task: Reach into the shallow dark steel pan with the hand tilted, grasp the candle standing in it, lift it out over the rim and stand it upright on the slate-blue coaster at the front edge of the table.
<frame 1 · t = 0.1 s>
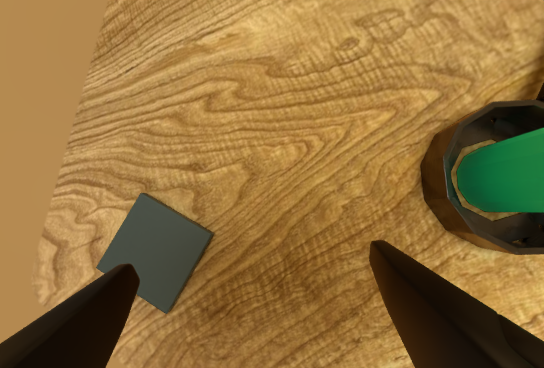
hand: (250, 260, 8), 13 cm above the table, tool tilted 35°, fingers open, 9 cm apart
candle: (489, 179, 20), resting in pan
coaster: (158, 249, 21), on the table
pan: (491, 179, 20), on the table
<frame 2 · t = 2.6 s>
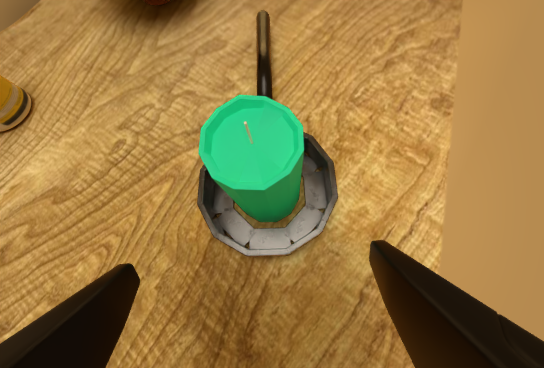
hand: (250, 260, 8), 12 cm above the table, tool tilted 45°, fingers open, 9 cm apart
candle: (269, 193, 22), resting in pan
pill bottle: (12, 113, 29), on the table
pan: (268, 192, 22), on the table
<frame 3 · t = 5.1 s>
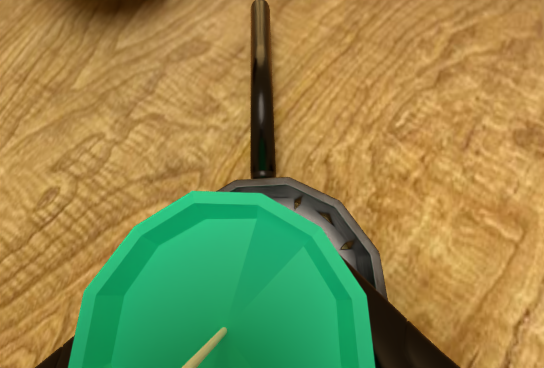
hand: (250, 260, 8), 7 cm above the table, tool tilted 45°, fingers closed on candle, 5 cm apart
candle: (269, 283, 14), resting in pan, touching gripper
pan: (269, 283, 14), on the table
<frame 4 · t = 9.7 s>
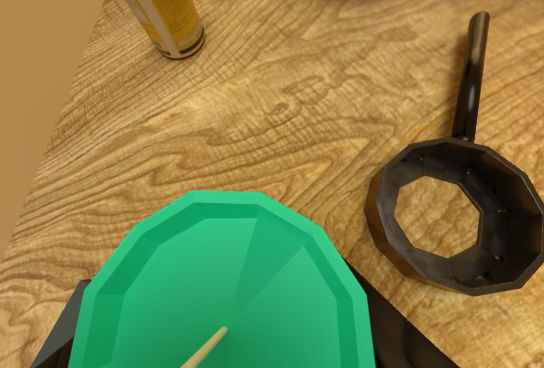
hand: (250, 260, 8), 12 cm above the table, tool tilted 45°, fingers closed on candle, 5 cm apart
candle: (269, 282, 14), point 5 cm above the table, touching gripper
coaster: (97, 345, 19), on the table
pill bottle: (182, 43, 29), on the table
pan: (435, 214, 20), on the table
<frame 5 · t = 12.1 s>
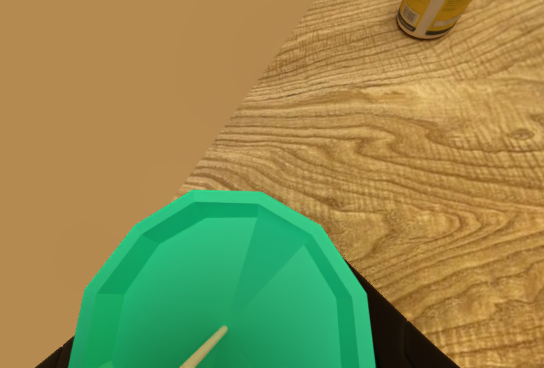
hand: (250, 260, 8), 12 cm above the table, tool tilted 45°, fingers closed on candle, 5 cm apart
candle: (269, 282, 14), point 6 cm above the table, touching gripper
pill bottle: (421, 23, 27), on the table
when the fingers open (7 cm above the table, at t = 14.2 s): candle stays where it is, point 1 cm above the table.
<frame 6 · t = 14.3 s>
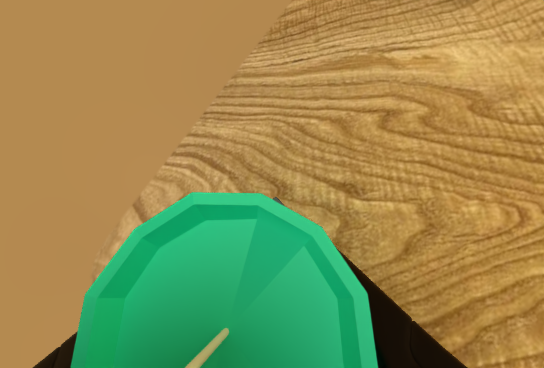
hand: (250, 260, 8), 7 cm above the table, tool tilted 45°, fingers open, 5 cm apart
candle: (270, 284, 14), point 1 cm above the table
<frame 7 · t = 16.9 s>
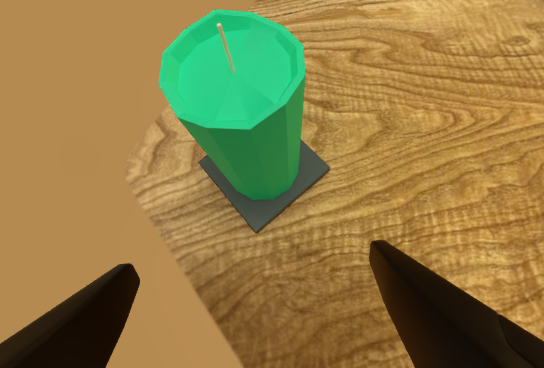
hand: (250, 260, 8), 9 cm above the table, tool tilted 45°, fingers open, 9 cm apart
candle: (263, 166, 19), point 1 cm above the table, touching coaster
coaster: (263, 168, 20), on the table
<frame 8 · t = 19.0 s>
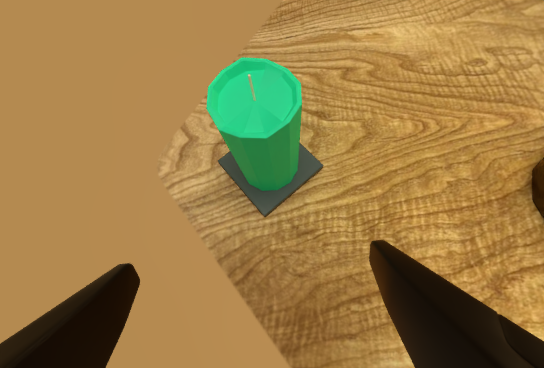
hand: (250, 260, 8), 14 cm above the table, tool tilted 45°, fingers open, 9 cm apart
candle: (269, 164, 24), point 1 cm above the table, touching coaster
coaster: (269, 165, 24), on the table
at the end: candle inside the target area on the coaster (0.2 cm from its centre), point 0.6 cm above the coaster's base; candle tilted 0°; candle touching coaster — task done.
